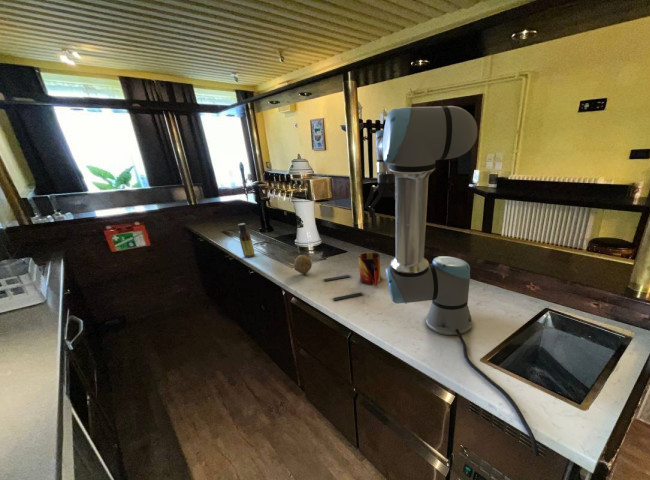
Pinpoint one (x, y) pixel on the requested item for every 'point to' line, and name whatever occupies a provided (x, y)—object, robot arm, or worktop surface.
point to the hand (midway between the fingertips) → (388, 225)
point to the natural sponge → (302, 264)
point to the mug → (369, 268)
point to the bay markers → (346, 295)
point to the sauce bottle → (245, 241)
